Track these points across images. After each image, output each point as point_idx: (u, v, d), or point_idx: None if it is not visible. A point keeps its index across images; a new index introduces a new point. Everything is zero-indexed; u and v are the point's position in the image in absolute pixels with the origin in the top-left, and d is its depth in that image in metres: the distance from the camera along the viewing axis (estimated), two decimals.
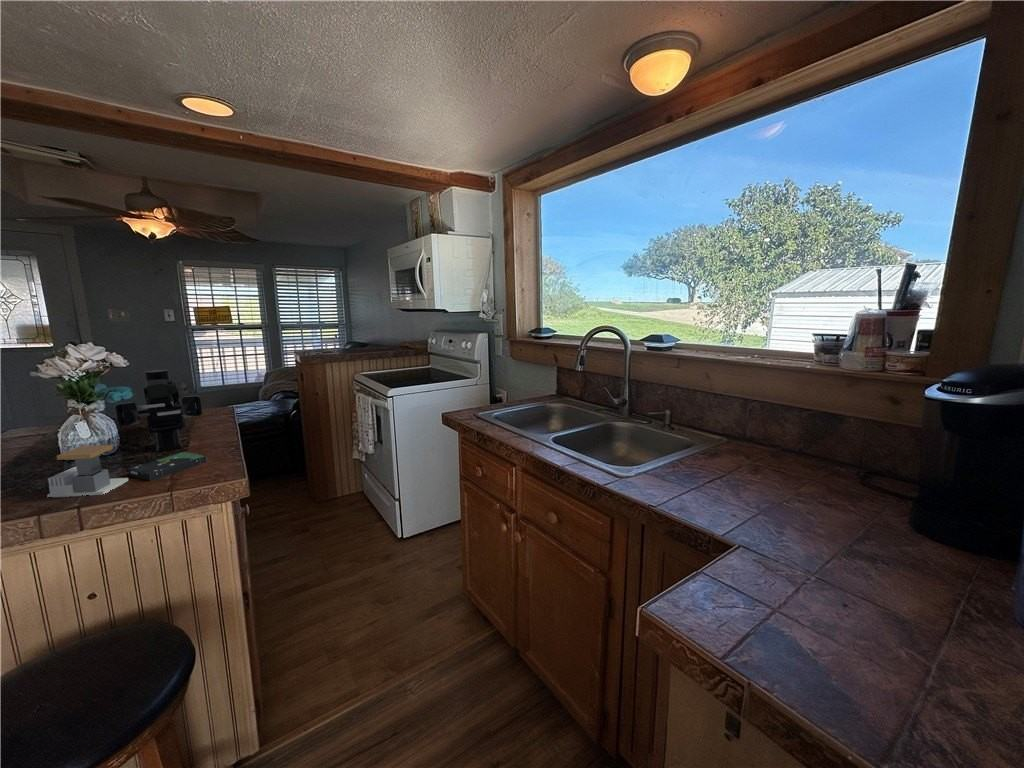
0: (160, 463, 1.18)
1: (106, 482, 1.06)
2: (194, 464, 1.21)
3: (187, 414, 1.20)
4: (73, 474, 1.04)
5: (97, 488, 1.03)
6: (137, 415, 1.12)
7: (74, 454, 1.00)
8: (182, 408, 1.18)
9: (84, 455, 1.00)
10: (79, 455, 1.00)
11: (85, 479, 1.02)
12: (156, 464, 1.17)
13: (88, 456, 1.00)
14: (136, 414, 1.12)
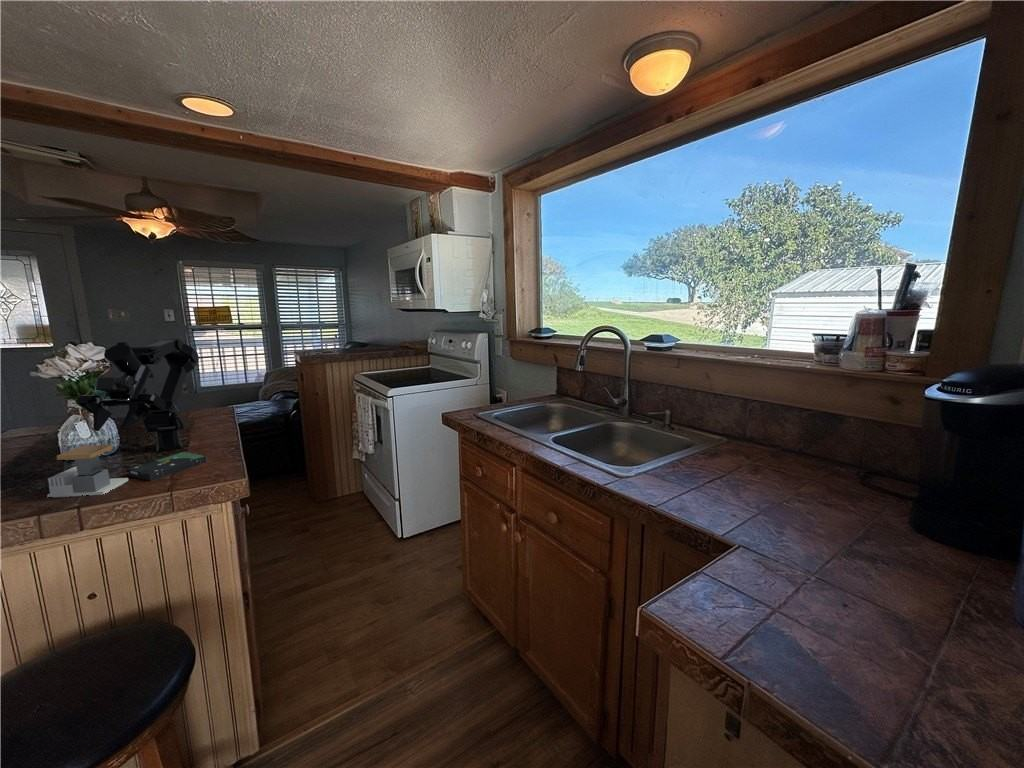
0: (160, 463, 1.18)
1: (106, 482, 1.06)
2: (194, 464, 1.21)
3: (136, 420, 1.14)
4: (73, 474, 1.04)
5: (97, 488, 1.03)
6: (94, 426, 1.10)
7: (74, 454, 1.00)
8: (125, 421, 1.11)
9: (84, 455, 1.00)
10: (79, 455, 1.00)
11: (85, 479, 1.02)
12: (156, 464, 1.17)
13: (88, 456, 1.00)
14: (94, 423, 1.10)
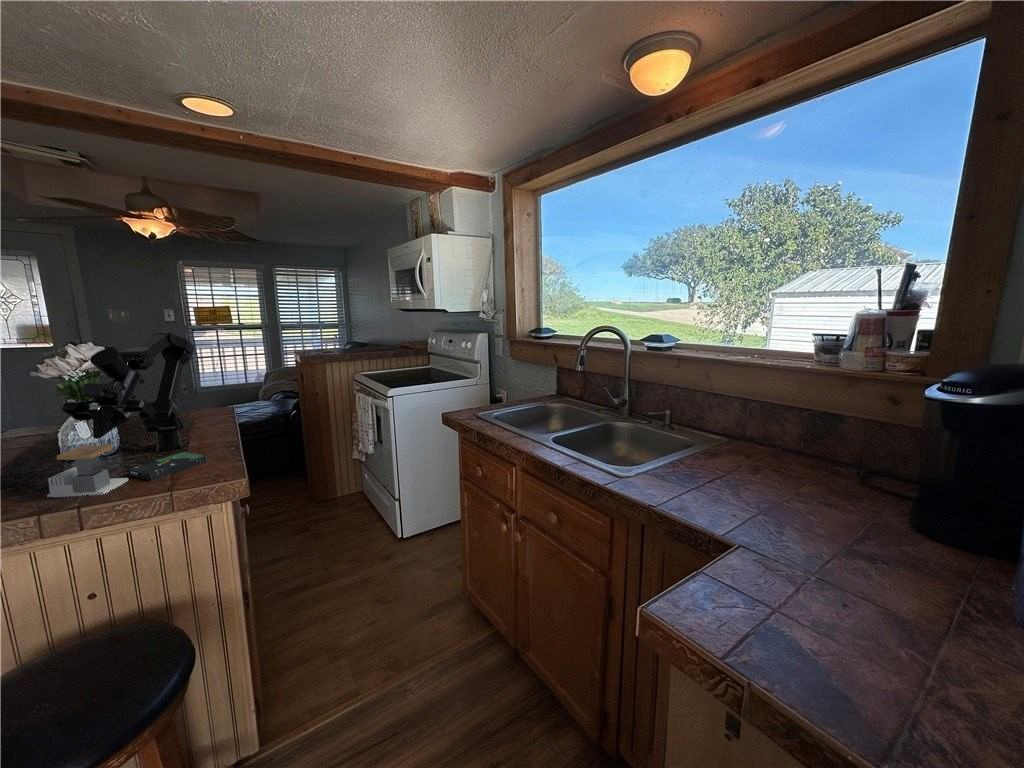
0: (160, 463, 1.18)
1: (106, 482, 1.06)
2: (194, 464, 1.21)
3: (111, 428, 1.09)
4: (73, 474, 1.04)
5: (97, 488, 1.03)
6: (94, 433, 1.06)
7: (74, 454, 1.00)
8: (99, 429, 1.07)
9: (84, 455, 1.00)
10: (79, 455, 1.00)
11: (85, 479, 1.02)
12: (156, 464, 1.17)
13: (88, 456, 1.00)
14: (94, 430, 1.06)
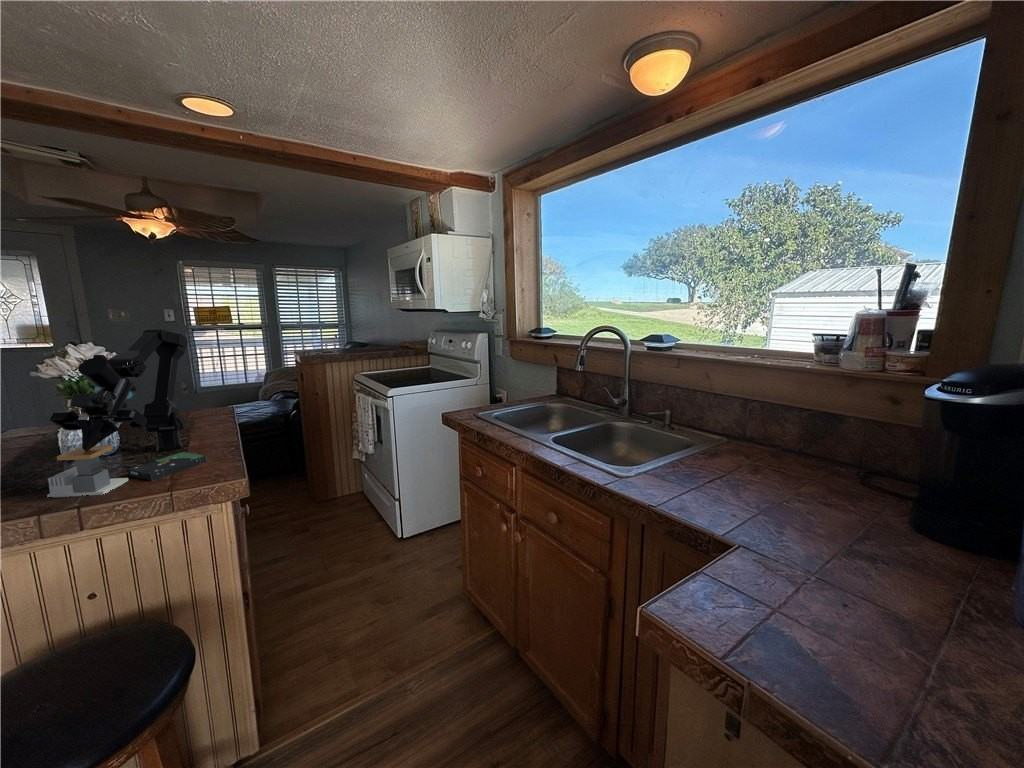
0: (160, 463, 1.18)
1: (106, 482, 1.06)
2: (194, 464, 1.21)
3: (101, 439, 1.06)
4: (73, 474, 1.04)
5: (97, 488, 1.03)
6: (83, 445, 1.03)
7: (74, 455, 1.00)
8: (88, 440, 1.03)
9: (84, 456, 1.00)
10: (79, 456, 1.00)
11: (85, 479, 1.02)
12: (156, 464, 1.17)
13: (88, 457, 1.00)
14: (83, 442, 1.03)
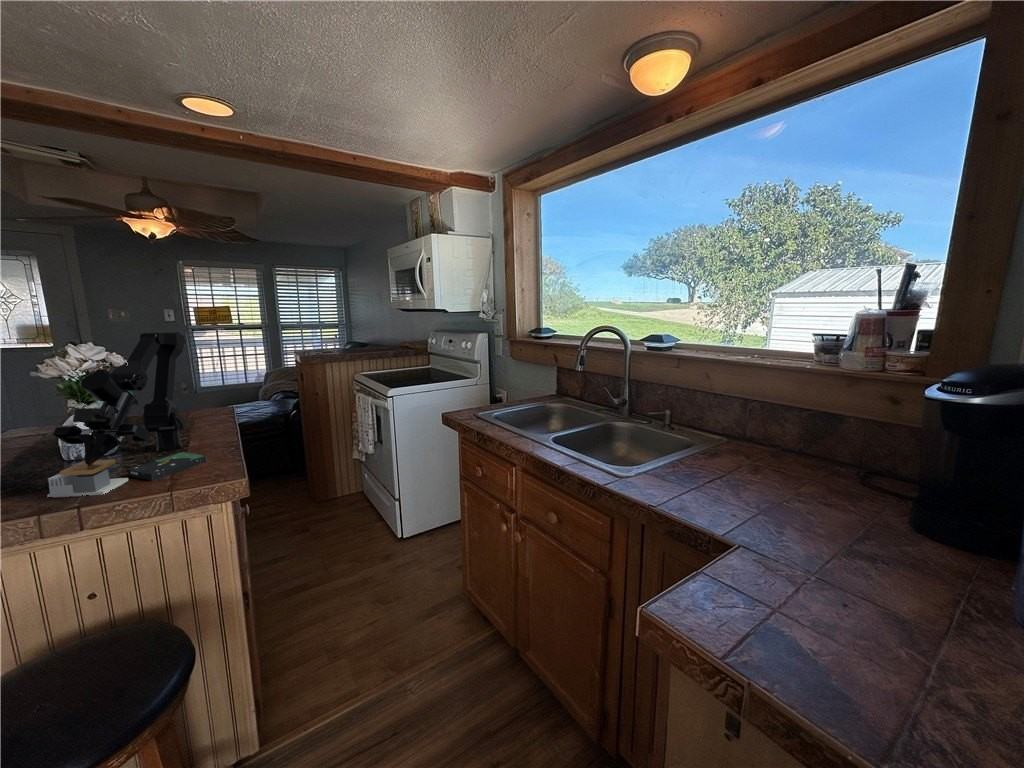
0: (160, 463, 1.18)
1: (106, 482, 1.06)
2: (194, 464, 1.21)
3: (104, 453, 1.07)
4: None
5: (97, 488, 1.03)
6: (86, 459, 1.04)
7: (77, 470, 1.01)
8: (91, 455, 1.04)
9: (87, 471, 1.01)
10: (82, 471, 1.01)
11: (85, 479, 1.02)
12: (156, 464, 1.17)
13: (91, 471, 1.01)
14: (86, 456, 1.04)
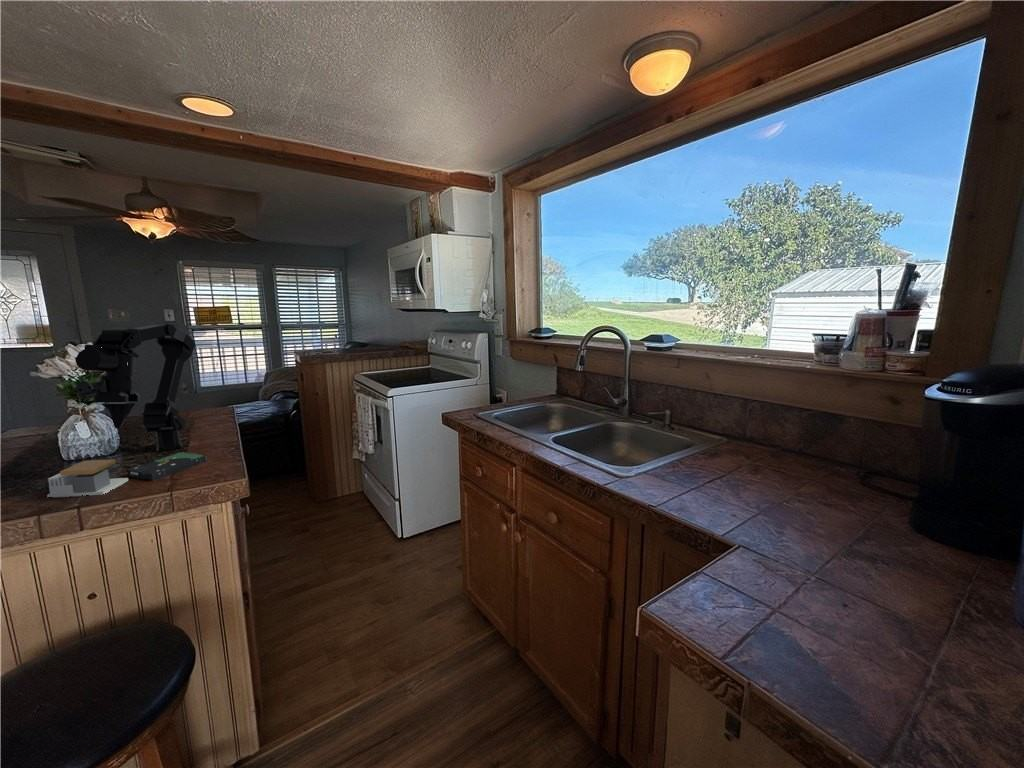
0: (160, 463, 1.18)
1: (106, 482, 1.06)
2: (194, 464, 1.22)
3: (123, 415, 1.16)
4: None
5: (97, 488, 1.03)
6: None
7: (77, 470, 1.01)
8: None
9: (87, 471, 1.01)
10: (82, 471, 1.01)
11: (85, 479, 1.02)
12: (156, 464, 1.17)
13: (91, 471, 1.01)
14: None
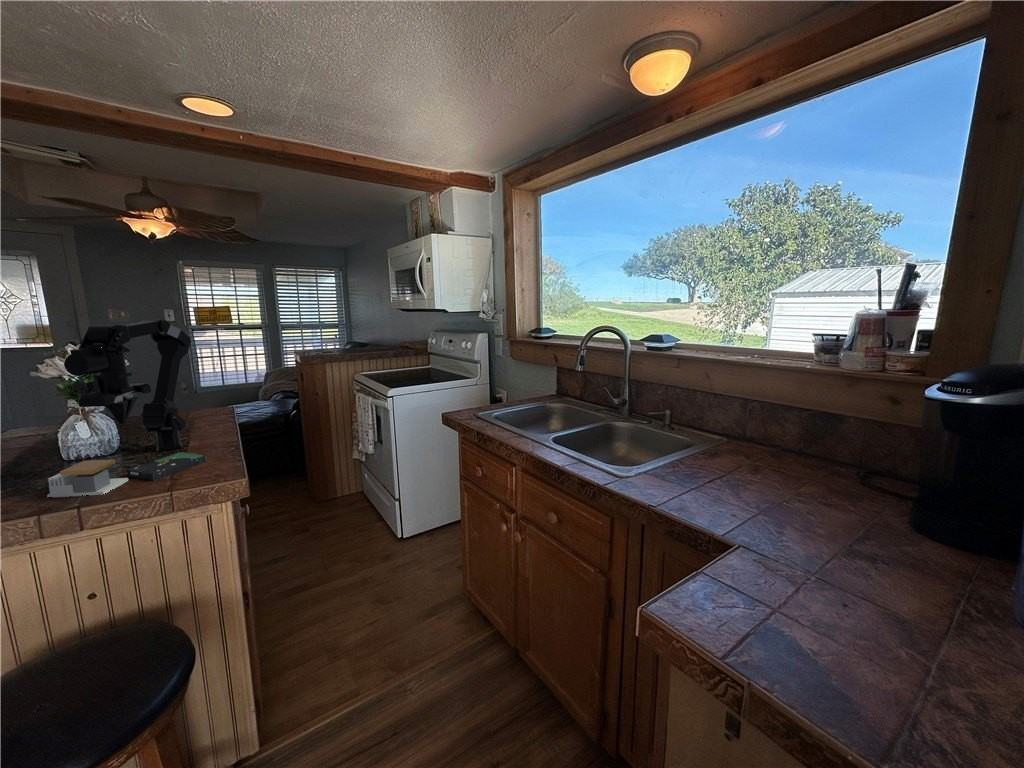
0: (160, 463, 1.18)
1: (106, 482, 1.06)
2: (195, 463, 1.22)
3: (121, 413, 1.17)
4: None
5: (97, 488, 1.03)
6: None
7: (77, 470, 1.01)
8: None
9: (87, 471, 1.01)
10: (82, 471, 1.01)
11: (85, 479, 1.02)
12: (156, 464, 1.17)
13: (91, 471, 1.01)
14: None
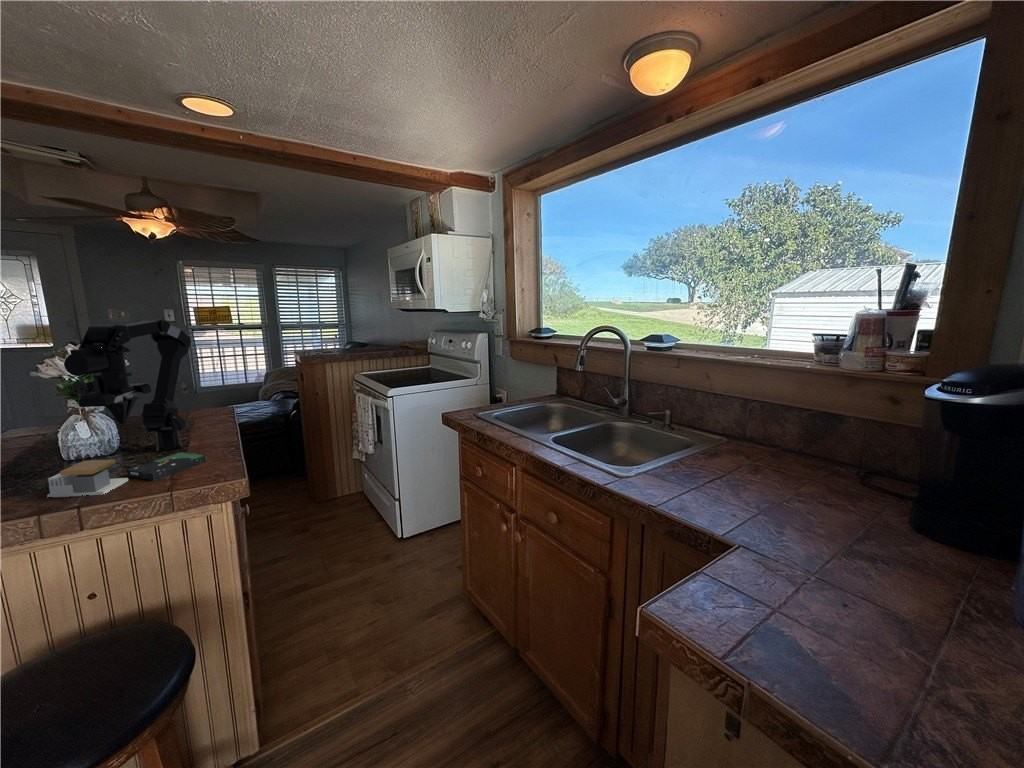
0: (160, 463, 1.18)
1: (106, 482, 1.06)
2: (195, 463, 1.22)
3: (121, 413, 1.17)
4: None
5: (97, 488, 1.03)
6: None
7: (77, 470, 1.01)
8: None
9: (87, 471, 1.01)
10: (82, 471, 1.01)
11: (85, 479, 1.02)
12: (156, 464, 1.17)
13: (91, 471, 1.01)
14: None
